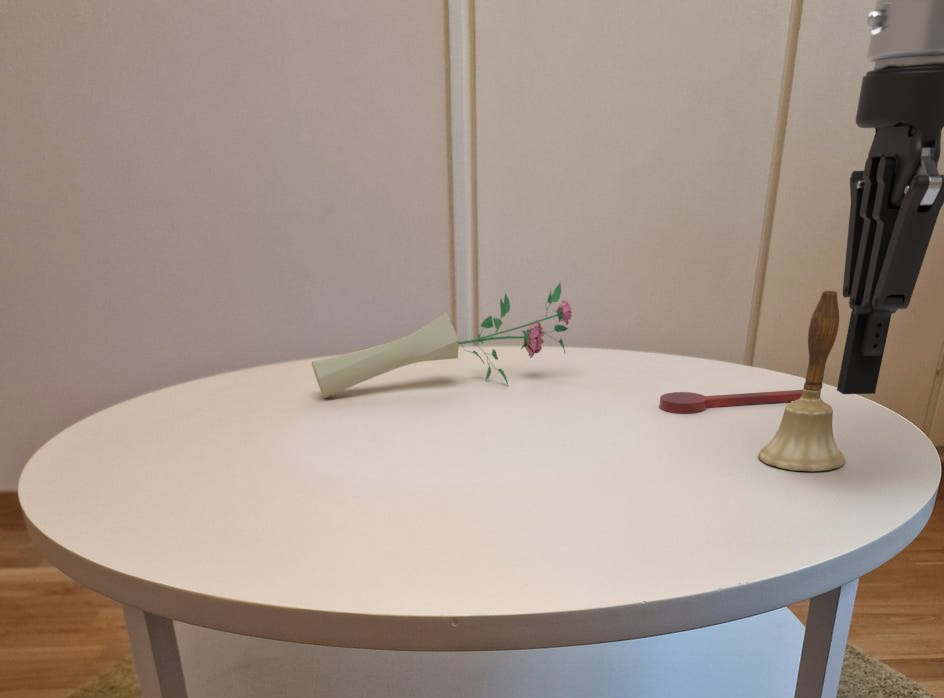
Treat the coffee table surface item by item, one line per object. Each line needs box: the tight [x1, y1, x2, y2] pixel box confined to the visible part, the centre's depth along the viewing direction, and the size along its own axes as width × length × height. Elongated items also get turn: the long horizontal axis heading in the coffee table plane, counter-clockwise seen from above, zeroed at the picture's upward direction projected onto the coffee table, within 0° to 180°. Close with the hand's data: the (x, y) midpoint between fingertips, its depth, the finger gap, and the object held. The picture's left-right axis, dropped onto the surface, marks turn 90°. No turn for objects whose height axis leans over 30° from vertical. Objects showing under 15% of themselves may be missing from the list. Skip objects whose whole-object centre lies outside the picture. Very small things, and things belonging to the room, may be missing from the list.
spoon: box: [659, 389, 803, 414], centre depth 108 cm, size 19×6×1 cm, turn 98°
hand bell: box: [757, 290, 846, 472], centre depth 85 cm, size 8×8×16 cm
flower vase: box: [311, 281, 573, 399], centre depth 119 cm, size 12×12×35 cm
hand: (855, 391), depth 76 cm, fingers closed
